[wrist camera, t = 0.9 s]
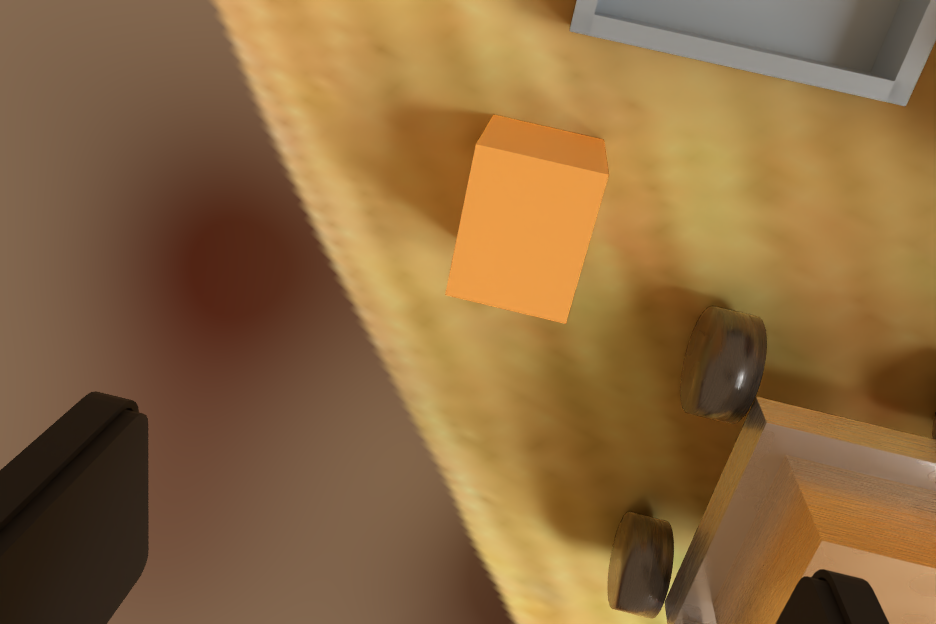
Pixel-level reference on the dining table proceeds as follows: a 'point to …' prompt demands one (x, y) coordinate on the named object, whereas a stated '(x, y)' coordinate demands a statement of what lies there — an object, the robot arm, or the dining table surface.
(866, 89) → the tray
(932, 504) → the trolley
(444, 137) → the dining table surface
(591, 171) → the orange cube-like block
